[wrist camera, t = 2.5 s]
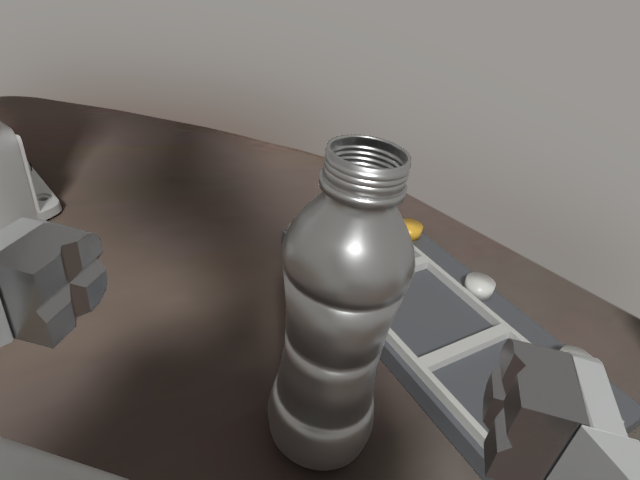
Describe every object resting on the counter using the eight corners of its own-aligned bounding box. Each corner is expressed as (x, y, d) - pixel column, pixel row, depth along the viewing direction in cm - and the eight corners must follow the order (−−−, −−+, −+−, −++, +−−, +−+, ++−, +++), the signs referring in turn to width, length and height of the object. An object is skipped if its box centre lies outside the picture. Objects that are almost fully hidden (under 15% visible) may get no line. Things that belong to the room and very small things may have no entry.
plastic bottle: (321, 509, 27) (393, 206, 17) (242, 433, 31) (258, 140, 20) (385, 438, 32) (475, 161, 21) (310, 378, 35) (353, 113, 24)
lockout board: (281, 242, 49) (283, 220, 48) (388, 218, 56) (393, 198, 55) (512, 515, 29) (529, 490, 27) (638, 425, 35) (657, 401, 34)
